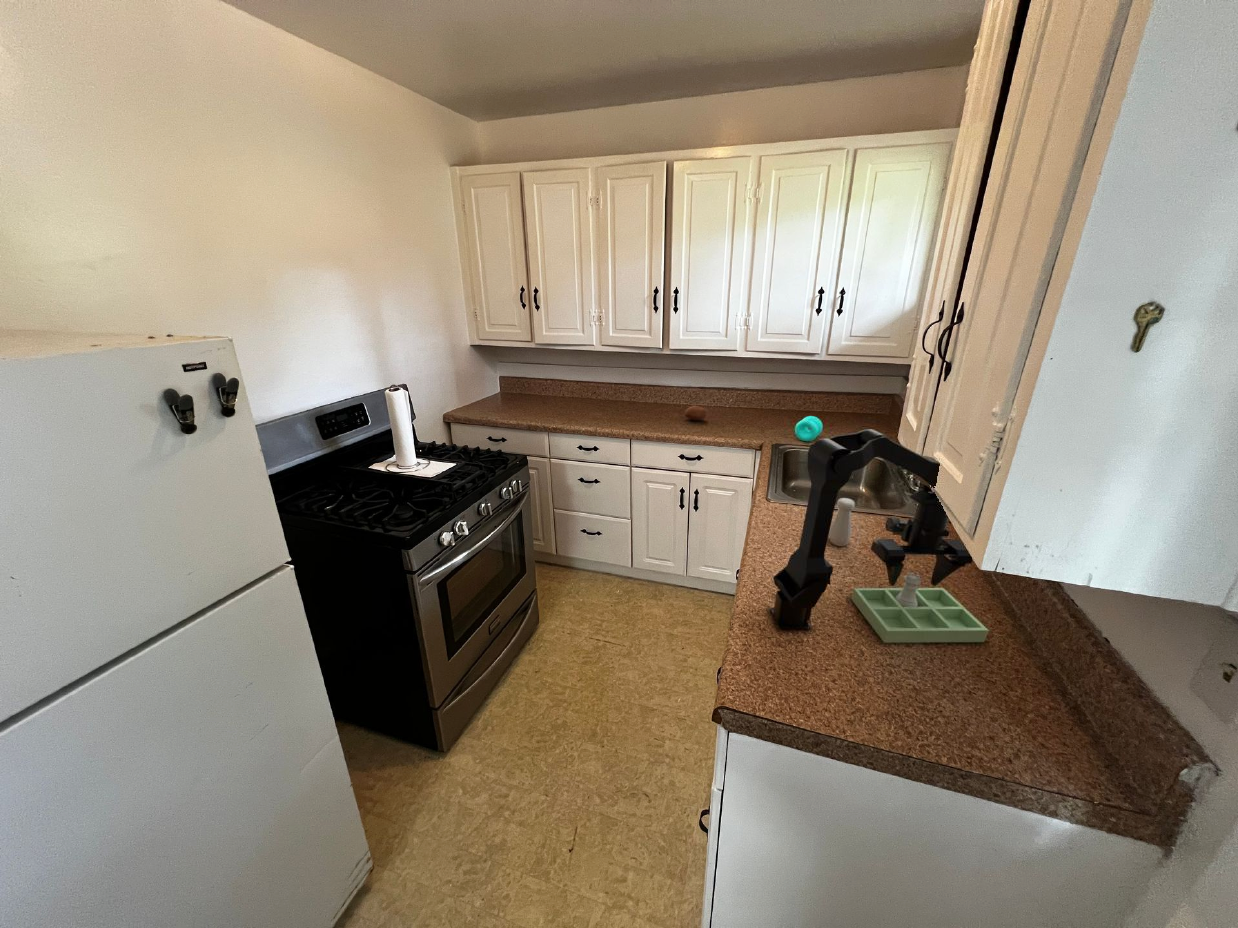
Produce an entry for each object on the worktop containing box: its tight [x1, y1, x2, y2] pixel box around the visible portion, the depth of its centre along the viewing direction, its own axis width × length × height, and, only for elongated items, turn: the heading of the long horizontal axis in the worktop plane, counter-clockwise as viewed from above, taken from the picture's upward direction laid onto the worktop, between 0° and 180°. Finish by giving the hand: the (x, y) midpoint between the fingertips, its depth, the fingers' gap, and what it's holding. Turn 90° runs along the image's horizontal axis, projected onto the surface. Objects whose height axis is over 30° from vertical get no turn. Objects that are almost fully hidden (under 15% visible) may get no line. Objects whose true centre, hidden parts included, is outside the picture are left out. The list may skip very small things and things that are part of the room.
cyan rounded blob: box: [794, 415, 824, 442], centre depth 216 cm, size 10×10×10 cm
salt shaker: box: [828, 497, 856, 547], centre depth 130 cm, size 6×6×13 cm
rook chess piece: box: [895, 572, 922, 607], centre depth 104 cm, size 4×4×8 cm
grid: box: [850, 587, 989, 644], centre depth 102 cm, size 21×14×3 cm
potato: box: [684, 405, 707, 422], centre depth 243 cm, size 8×11×8 cm
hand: (912, 584), depth 104 cm, fingers open, 9 cm apart
